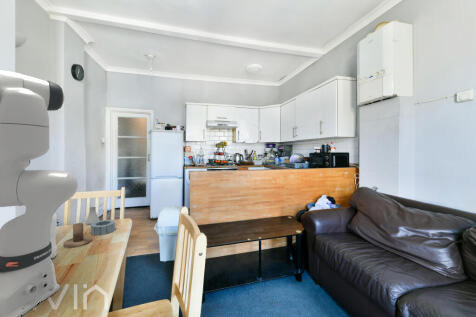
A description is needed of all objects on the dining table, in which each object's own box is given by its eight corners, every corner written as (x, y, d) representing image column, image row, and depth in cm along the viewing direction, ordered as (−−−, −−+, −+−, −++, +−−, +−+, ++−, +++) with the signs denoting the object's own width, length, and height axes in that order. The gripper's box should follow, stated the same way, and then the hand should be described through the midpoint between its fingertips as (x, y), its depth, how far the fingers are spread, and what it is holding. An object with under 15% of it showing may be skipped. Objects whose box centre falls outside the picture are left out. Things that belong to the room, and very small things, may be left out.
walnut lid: (83, 247, 93) (82, 228, 93) (57, 248, 92) (57, 228, 92) (97, 237, 104) (97, 220, 104) (74, 238, 103) (74, 220, 103)
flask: (92, 225, 120) (92, 209, 119) (82, 224, 121) (82, 208, 121) (102, 221, 127) (102, 206, 126) (93, 220, 128) (93, 205, 128)
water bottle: (45, 264, 79) (45, 201, 78) (27, 263, 79) (27, 201, 78) (61, 255, 86) (61, 197, 86) (45, 254, 87) (45, 197, 86)
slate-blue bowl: (108, 235, 108) (108, 226, 107) (86, 235, 106) (86, 227, 106) (118, 227, 118) (118, 219, 118) (98, 227, 117) (98, 219, 117)
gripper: (7, 183, 82) (37, 206, 85) (41, 176, 101) (64, 194, 104) (-7, 194, 81) (24, 217, 84) (30, 185, 100) (54, 203, 103)
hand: (47, 204), depth 94 cm, fingers open, 8 cm apart
